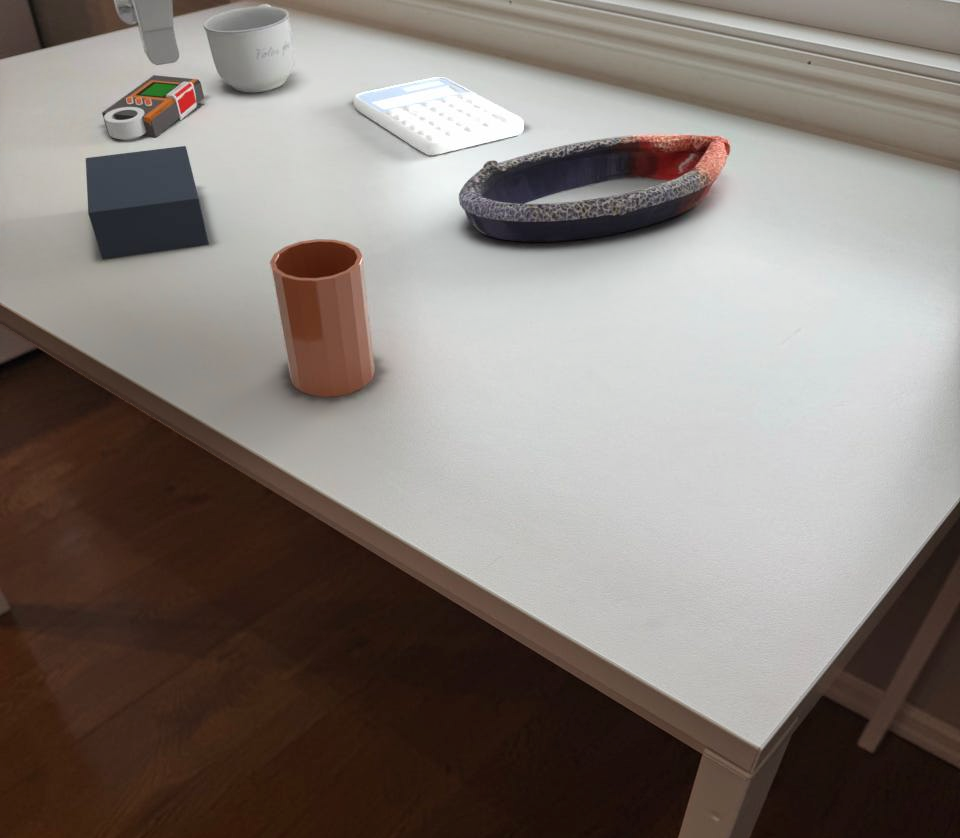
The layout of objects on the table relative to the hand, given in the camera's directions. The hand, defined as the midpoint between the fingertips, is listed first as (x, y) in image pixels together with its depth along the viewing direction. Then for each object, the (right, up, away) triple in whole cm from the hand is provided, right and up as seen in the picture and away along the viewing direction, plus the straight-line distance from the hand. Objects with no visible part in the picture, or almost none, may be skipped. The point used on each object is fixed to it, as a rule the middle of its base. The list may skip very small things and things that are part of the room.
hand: (148, 40), depth 60 cm
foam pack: (-12, +4, +37) cm, 40 cm away
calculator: (+15, +26, +57) cm, 65 cm away
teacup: (-8, +37, +69) cm, 78 cm away
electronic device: (-20, +27, +59) cm, 68 cm away
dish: (+33, +6, +39) cm, 51 cm away
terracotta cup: (+9, -17, +17) cm, 25 cm away
